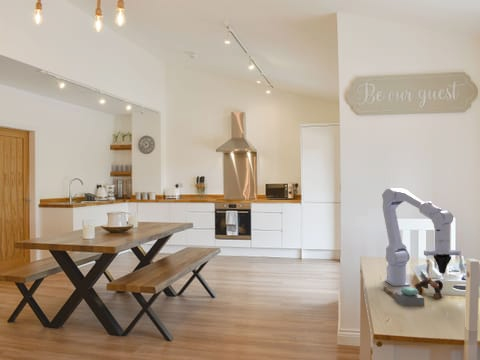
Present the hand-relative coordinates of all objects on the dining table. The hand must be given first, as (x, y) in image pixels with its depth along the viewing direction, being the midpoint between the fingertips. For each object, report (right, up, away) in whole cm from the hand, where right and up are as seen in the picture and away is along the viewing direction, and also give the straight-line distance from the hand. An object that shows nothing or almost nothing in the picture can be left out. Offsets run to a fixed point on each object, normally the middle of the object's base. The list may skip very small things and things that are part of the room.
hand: (442, 272), depth 169 cm
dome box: (-17, -10, -8) cm, 21 cm away
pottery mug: (-4, -10, +1) cm, 11 cm away
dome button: (-17, -9, -8) cm, 21 cm away
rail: (-20, -10, +2) cm, 23 cm away
